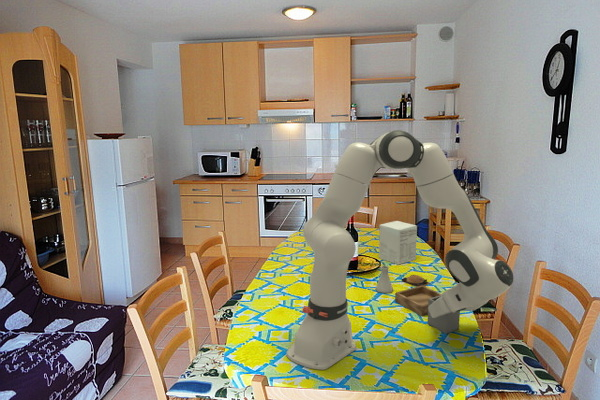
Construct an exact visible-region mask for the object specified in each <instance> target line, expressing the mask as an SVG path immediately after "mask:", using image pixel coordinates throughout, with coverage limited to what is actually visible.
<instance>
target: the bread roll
mask: <svg viewBox="0 0 600 400" xmlns="http://www.w3.org/2000/svg"><path fill="white" fill-rule="evenodd" d="M401 282H402V283H405V284H407V285H410V286H413V287H418V286H421V285H423V286H425V287H427V286H429V285H431V283H432V282H430V281H428V279H425V278H424V277H422V276H420V275H417V274H411V275H409V276H407V277H403V278H402V279H401Z"/></svg>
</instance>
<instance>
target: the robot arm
mask: <svg viewBox="0 0 600 400" xmlns="http://www.w3.org/2000/svg"><path fill="white" fill-rule="evenodd" d="M336 165H337V166H336V168H335V169H334V172H333V174H332V177H331V180H330V181H329V185H328V187H327V189H326V192H325V194H324V197H323V199H322V200H321V202H320V204H319V205H318V207H317V208H316V210H315V211H314V213H313V214H312V217H311V218H309V219H308V220H307V221H306V222H305V224H304V226H303V237H304V241H305V243H306V245H308V246H309V248H310V249H311V250H312V251H313V256H314V257H313V258H314V259H313V260H314V261H313V266H312V271H311V272H310V275H309V296H310V297H309V300H308V303H307V306H306V305H304V306H303V307H302V313H304V314H306V315H305V317H304V318H303V320H302V322H301V324H300V325H299V327H298V329H297V332H296V333H295V335H294V342H293V343H292V344H291V346H290V347H289V348H288V349H287V351H286V357H287V358H288V359H289V360H290V361H292V362H293V363H295V364H297V365H300V366H301V367H305V368H307V369H308V368H309V369H312V370H324V371H325V370H327V369H328V368H330V367H332V366H334V364H336V363H338V362H340V361H341V360H342V359H344V358H345V357H347V356H348V355H350V354H352V353H353V352H354V351H356V349H357V345H356V344H355V342H354V341H353V332H352V322H351V320H350V318H349V316H348V313H347V312H348V308H349V307H348V306H349V303H348V302H349V301H348V298H347V275H348V270H349V265H350V262H351V261H352V259H354V257H355V254H356V243H355V240H354V238H353V237H352V235H351V233H350V232H349V231H348V230H346V229H345V227H346V225H347V224H348V222H349V221H350V219H351V218H352V217H353V216H354V215H355V214H356V213H358V212H359V211H360V210H361V207H362V205H363V201H364V200H365V197H366V195H367V192H368V189H369V187H370V184H371V182H372V179H373V177H374V175H375V173H376V172H377V171H378V170H379V169H381V168H382V169H387V170H401V169H403V170H404V169H407V171H409V173H410V174H411V176H412V178H413V180H414V183H415V186H416V189H417V192H418V194H419V196H420V198H421V199H422V201H423V203H424V204H426V206H429V207H431V208H434V209H443V210H444V209H445V210H449V211H451V212H452V213H453V214H454V215H455V218H456V220H457V222H458V224H459V226H460V227H461V229H462V231H463V236H464V237H463V240H461V242H459V243H458V244H456V245H455V246H453V248H451V249H450V250H449V251H447V253H446V254H445V260H444V261H445V262H444V263H445V266H446V268H447V270H448V271H449V274H451V275H452V276H453V277H454V278H455V279H456V280H457V281H458V282H459V283H457V284H456V285H455V286H453V287H450V288H449V289H447V290H445V291H443V292H442V293H441V294H442V296H441V297H440V298H438V299H437V300H436V301H434V302H433V303H432V304H431V305H430V306H429V307H428V310H429V312H430V315H431V317H432V318H437V317H439V316H442V315H445V314H448V313H451V312H452V313H454V312H459V311H460V312H465V311H467V312H468V311H473V312H474V311H476V310H477V309H480V307H482V306H484V305H486V304H487V303H488V302H489V300H494V299H496V298H498V297H499V296H501V295H503V294H504V293H506V291H508V290H509V289H510V288H511V287H512V285H513V283H514V273H513V271H512V268H511V267H510V265H508V263H507V262H506V261H504V260H501V259H497V256H498V254H499V246H498V244H497V243H498V242H496V240H495V238H494V237H493V236H492V234H490V232H489V231H488V229H486V226H485V225H484V223H483V222H482V219H481V217H480V216H479V214H478V212H477V211H478V210H477V209H476V207H475V206H474V204H473V201H472V200H471V198H470V197H469V196H470V195H468V193H467V192H466V190H465V189H464V188H462V187H461V185H460V184H459V182H458V180H457V177H456V176H455V174H454V171H453V168H452V166H451V163H450V162H449V159H448V158H447V156H446V155H445V152H444V151H443V149H442V148H441V147H440V145H439V144H437V143H436V142H424V143H422V142H420V141H419V140H418V139H417V138H415V136H413V135H412V134H411V133H409V132H407V131H405V130H400V129H397V130H392V131H391V130H390V131H387V132H385V133H383V134H381V135H380V136H378V137H377V138H376V139H375V140H373V141H372V142H371V143H370V144H369V143H366V142H360V141H359V142H358V141H357V142H353V143H351V144H349V145H347V147H346V149H345V151H344V152H343V154H342V156H341V157H340V160H339V161H338V163H337V164H336Z"/></svg>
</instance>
